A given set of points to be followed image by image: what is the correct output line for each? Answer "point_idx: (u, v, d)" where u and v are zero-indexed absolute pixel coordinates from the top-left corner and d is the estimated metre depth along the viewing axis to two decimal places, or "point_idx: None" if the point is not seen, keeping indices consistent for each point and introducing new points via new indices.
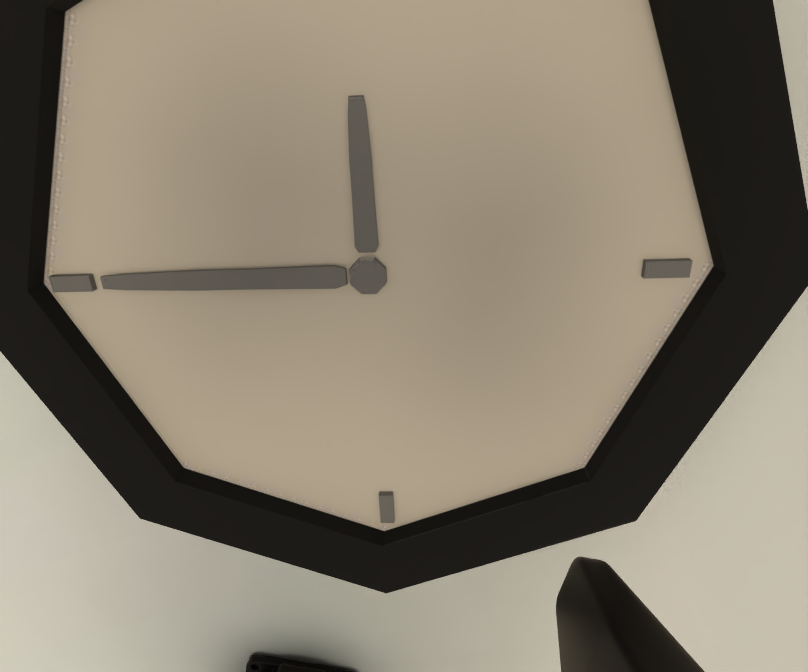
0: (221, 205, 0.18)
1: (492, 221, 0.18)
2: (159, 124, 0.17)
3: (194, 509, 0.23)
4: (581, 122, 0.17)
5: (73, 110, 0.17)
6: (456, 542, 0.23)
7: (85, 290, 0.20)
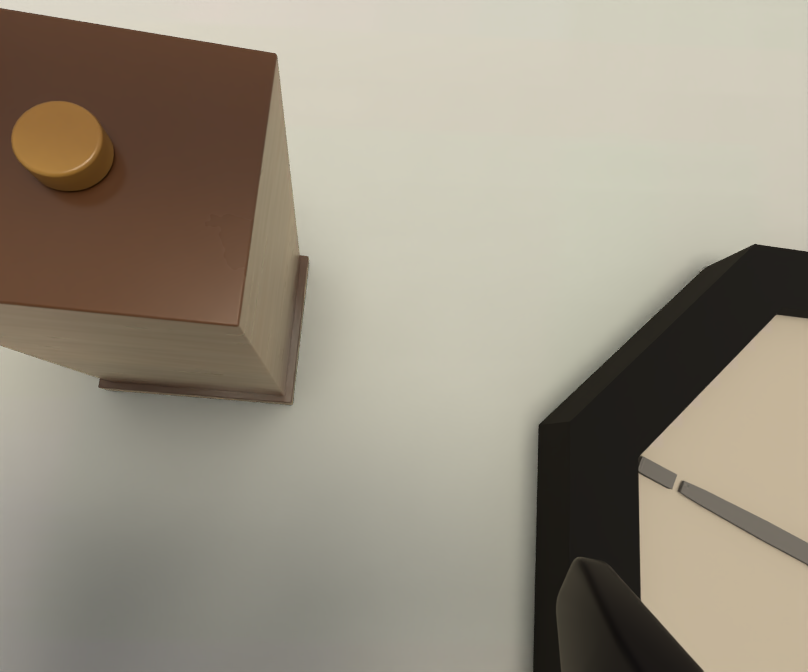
0: (804, 482, 0.22)
1: None
2: (789, 405, 0.22)
3: None
4: None
5: (735, 362, 0.22)
6: None
7: (666, 484, 0.20)
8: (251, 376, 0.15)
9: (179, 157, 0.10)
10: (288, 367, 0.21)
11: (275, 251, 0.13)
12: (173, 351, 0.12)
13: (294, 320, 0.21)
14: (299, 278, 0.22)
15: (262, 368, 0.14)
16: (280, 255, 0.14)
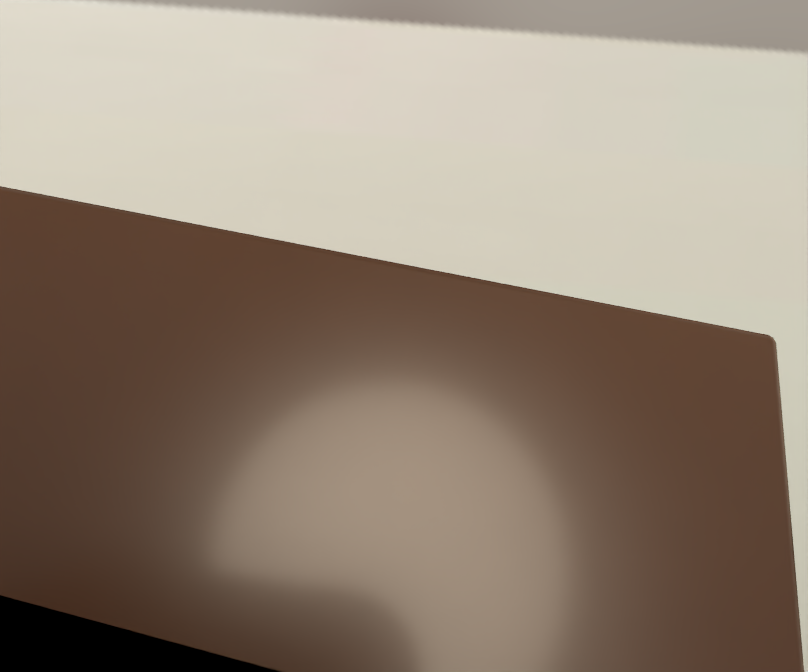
0: None
1: None
2: None
3: None
4: None
5: None
6: None
7: None
8: None
9: None
10: None
11: None
12: None
13: None
14: None
15: None
16: None
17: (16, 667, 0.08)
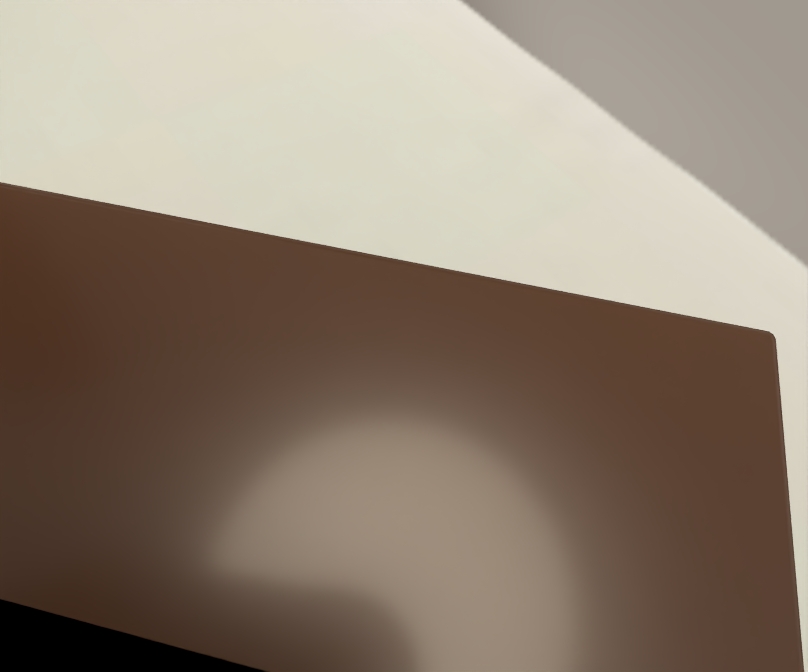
0: None
1: None
2: None
3: None
4: None
5: None
6: None
7: None
8: None
9: None
10: None
11: None
12: None
13: None
14: None
15: None
16: None
17: (17, 665, 0.08)
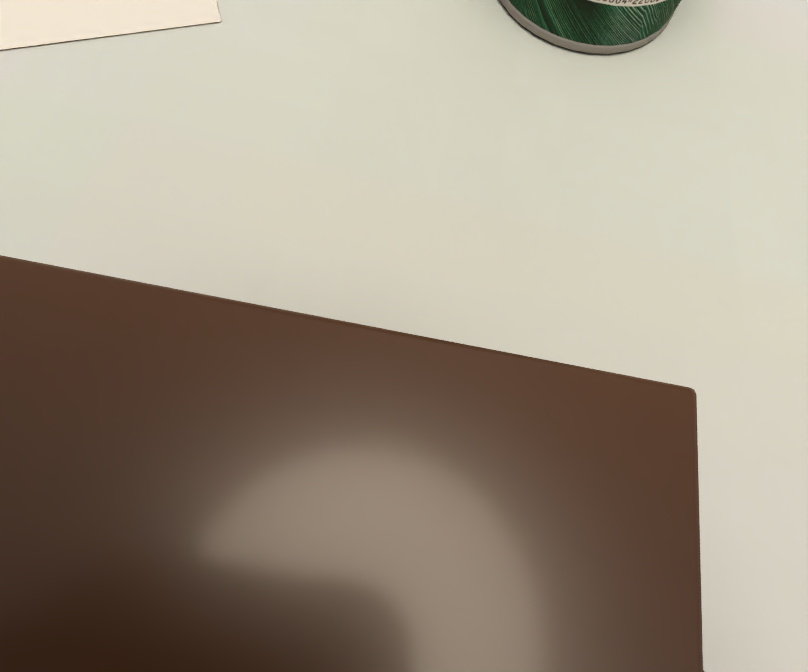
0: None
1: None
2: None
3: None
4: None
5: None
6: None
7: None
8: None
9: None
10: None
11: None
12: None
13: None
14: None
15: None
16: None
17: None
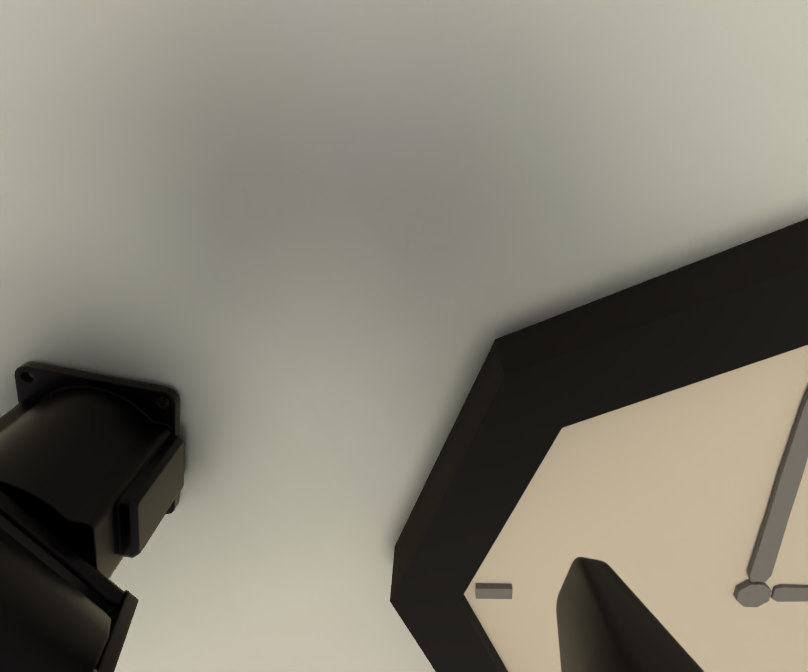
0: None
1: (770, 661, 0.24)
2: None
3: (516, 440, 0.19)
4: None
5: None
6: (465, 653, 0.24)
7: None
8: None
9: None
10: None
11: None
12: None
13: None
14: None
15: None
16: None
17: None
